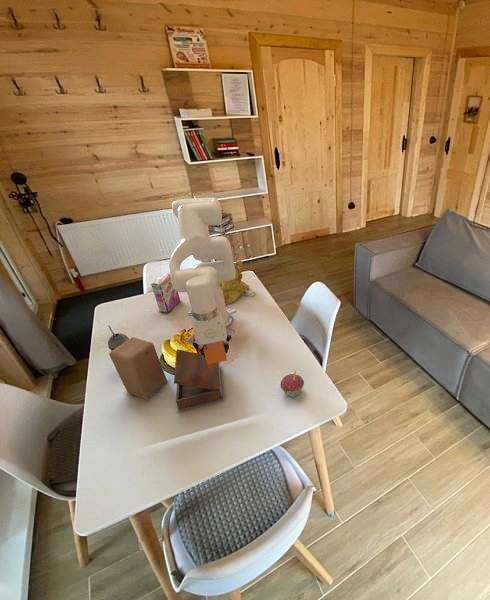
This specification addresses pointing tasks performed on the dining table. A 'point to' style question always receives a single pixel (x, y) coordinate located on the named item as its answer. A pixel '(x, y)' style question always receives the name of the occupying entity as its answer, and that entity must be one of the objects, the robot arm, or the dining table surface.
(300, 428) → the dining table surface
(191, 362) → the lid
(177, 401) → the chest
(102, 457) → the dining table surface
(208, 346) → the orange cube
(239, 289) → the giraffe plush
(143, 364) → the wooden block
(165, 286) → the candy bar box
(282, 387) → the cupcake
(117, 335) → the beverage cup
